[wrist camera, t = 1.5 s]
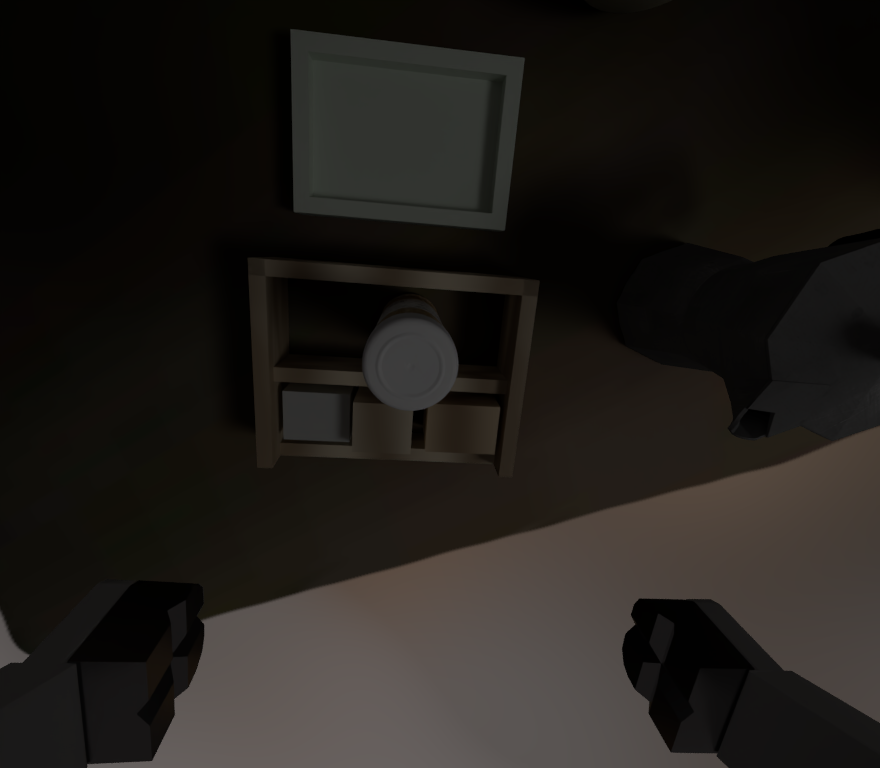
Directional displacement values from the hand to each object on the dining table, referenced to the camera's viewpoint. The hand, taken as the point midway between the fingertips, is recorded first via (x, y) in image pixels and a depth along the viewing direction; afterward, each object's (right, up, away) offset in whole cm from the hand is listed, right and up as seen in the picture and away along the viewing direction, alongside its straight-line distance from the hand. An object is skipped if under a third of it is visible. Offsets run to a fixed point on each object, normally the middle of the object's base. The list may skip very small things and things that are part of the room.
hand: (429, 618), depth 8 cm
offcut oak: (+1, +3, +27) cm, 27 cm away
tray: (-2, +21, +21) cm, 29 cm away
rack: (-3, +6, +25) cm, 26 cm away
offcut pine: (-4, +3, +26) cm, 27 cm away
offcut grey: (-9, +3, +26) cm, 28 cm away
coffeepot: (+19, +11, +26) cm, 34 cm away
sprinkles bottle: (-2, +9, +25) cm, 26 cm away
